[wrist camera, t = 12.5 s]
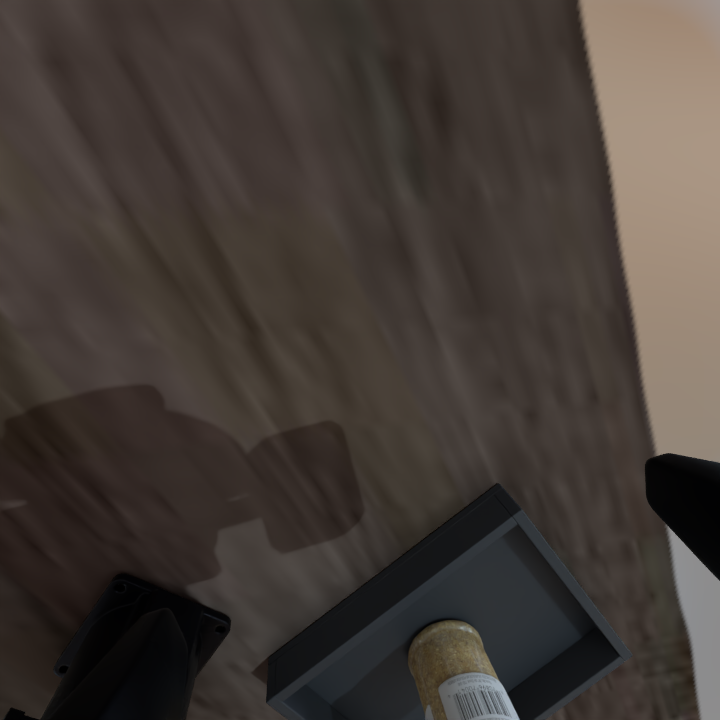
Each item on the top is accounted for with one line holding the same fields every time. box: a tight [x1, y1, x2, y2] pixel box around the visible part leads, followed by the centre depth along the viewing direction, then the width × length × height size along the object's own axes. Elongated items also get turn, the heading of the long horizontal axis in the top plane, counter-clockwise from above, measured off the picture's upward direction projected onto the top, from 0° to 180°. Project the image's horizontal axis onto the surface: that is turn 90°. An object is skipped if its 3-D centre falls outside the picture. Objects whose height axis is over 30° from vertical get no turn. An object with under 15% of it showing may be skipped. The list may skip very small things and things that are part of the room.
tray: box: [266, 483, 633, 720], centre depth 24 cm, size 16×13×2 cm
